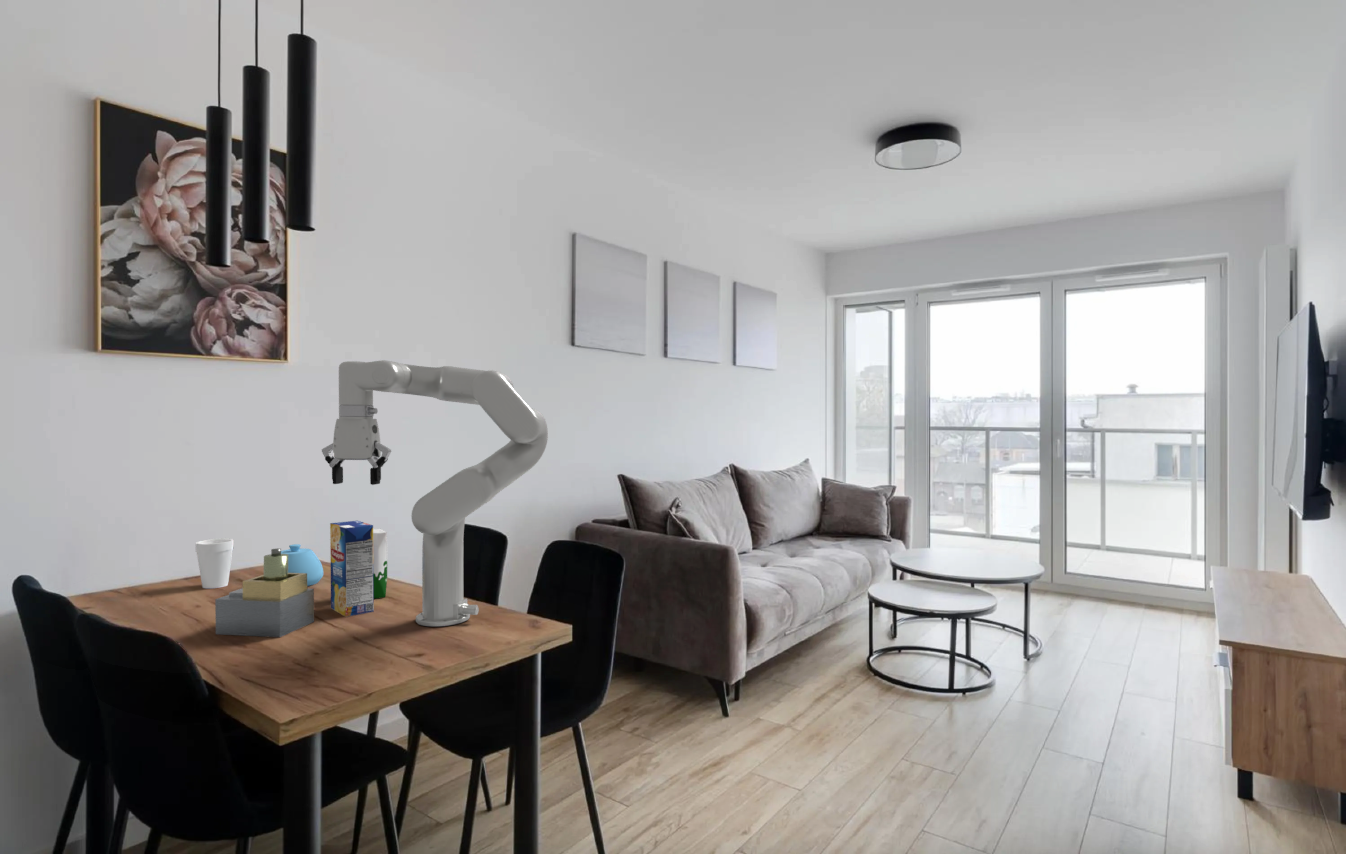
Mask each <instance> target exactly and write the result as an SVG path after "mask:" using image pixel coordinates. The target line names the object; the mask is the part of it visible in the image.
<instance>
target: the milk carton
mask: <svg viewBox="0 0 1346 854" xmlns="http://www.w3.org/2000/svg"><path fill="white" fill-rule="evenodd" d="M387 533H388V532H387V531H385V530H384V529H382V528H373V583H374V600H375V599H382V598H386V597H387V596H386V595H387V585H388V584H387V583H388V538H387V537H388V535H387Z"/></svg>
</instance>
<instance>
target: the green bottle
mask: <svg viewBox="0 0 1346 854" xmlns="http://www.w3.org/2000/svg"><path fill="white" fill-rule="evenodd" d="M270 550H271V551H270V552H271V553H270V554H266V555H264V556H263V575H264V581H281V580H284V579H287V578H288V554H281V551H282V548H271V549H270Z"/></svg>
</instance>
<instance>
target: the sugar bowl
mask: <svg viewBox="0 0 1346 854" xmlns="http://www.w3.org/2000/svg"><path fill="white" fill-rule="evenodd" d="M301 545H302V544H301V543H300V544H298V543H295V544H290V545H289V549H284V550H281V554H288V573H307V587H310V586H313V585H316V584H318V583H319V582H320V581H321V580H322V578H323V577H324V568H323V565H322V562H321V561H320V559H319V558H318V556H317V555H316V553H315V552H314V551H313V550H312V549H311V548H307V547H306V548H305V547H304V548H303V547H301Z"/></svg>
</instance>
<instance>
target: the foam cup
mask: <svg viewBox="0 0 1346 854" xmlns="http://www.w3.org/2000/svg"><path fill="white" fill-rule="evenodd" d="M234 543H235V542H234V538H212V539H210V538H209V539H205V540H199V541H195V552H196V556H197V557H196V558H197V563H198V569H199V576H200V581H201V587H202V589H218V588H223V587H224V588H225V587H227V586H228V585H229V580H230V571H231V566H232V565H231V564H232V558H233V557H232V556H233V551H234V550H233V549H234Z"/></svg>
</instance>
